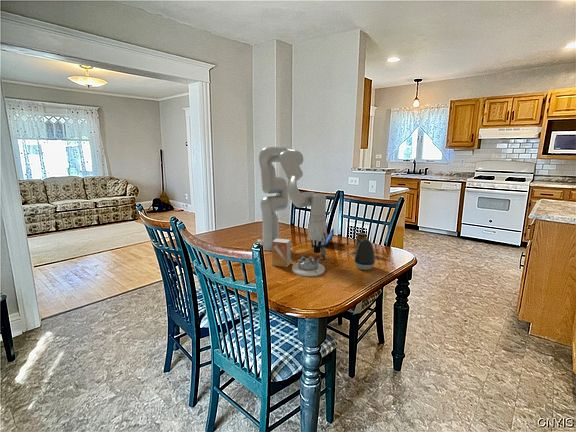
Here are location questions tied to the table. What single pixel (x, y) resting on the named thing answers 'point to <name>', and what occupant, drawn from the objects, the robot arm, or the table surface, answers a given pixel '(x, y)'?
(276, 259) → the small box
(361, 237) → the condiment
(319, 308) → the table surface
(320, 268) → the cap plate
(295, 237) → the table surface
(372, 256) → the pump dispenser
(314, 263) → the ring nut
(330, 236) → the handheld game console
